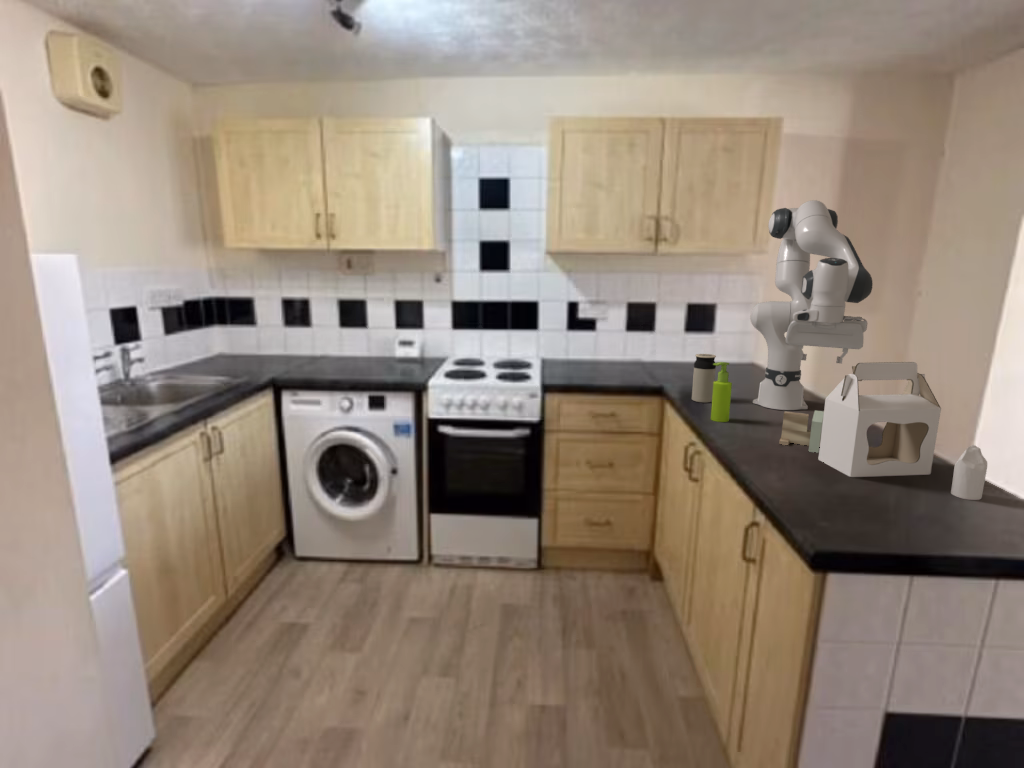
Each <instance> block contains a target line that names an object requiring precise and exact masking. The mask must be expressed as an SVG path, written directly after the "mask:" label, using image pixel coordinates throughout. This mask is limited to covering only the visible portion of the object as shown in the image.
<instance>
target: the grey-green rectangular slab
mask: <svg viewBox="0 0 1024 768" xmlns="http://www.w3.org/2000/svg"><path fill="white" fill-rule="evenodd" d="M823 416H824V410H814V412H813V416H812V419H811V425H810V426H811V427H810V430H811V434H810V442H809V446H808V451H809V452H810V453H814V452H816V453H815V454H819V449H820V448H819V446H820V437H821V432H822V424H823Z"/></svg>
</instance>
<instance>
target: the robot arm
mask: <svg viewBox="0 0 1024 768" xmlns="http://www.w3.org/2000/svg"><path fill="white" fill-rule="evenodd" d="M838 224H839V219H838V214H837V212H836V211H835V210H833V209H829V208H828V207H827V206H826V204H824V202H822V201H820V200H817V199H816V200H814V199H813V200H808V201H806V202H804V203H802V204H800V206H799V207H792V208H790V207H789V208H786V207H783V208H778V209H776V210H774V211H773V212H772V214H771V216H770V218H769V220H768V226H767V227H768V232H769V235H770V236H771V237H772V238H775V239H777V240H778V239H780V240H781V239H782V240H781V242H780V245H779V247H778V248H779V249H778V253H777V258H776V264H775V265H776V266H775V277H774V284H775V287H776V288H777V289H778V291H781V292H782V293H785V294H787V295H789V297H790V298H791V299H792V300H791V301H783V300H782V301H779V300H778V301H776V300H772V301H771V300H770V301H762V302H758V303H756V304H755V305H754V306H753V308H751V311H750V316H749V317H750V318H749V319H750V323H751V324H752V326H753V327H754V329H756V330H757V331H758V332H759V333H760V334H761V335H762V336H763V338H764V340H765V342H766V344H767V345H766V346H767V366H766V368H765V371H764V377H765V378H764V379H763V380H761V382H760V383H759V388H758V394H757V395H758V397H757V398H755V399H752V403H753V404H755V405H759V406H761V407H764V408H768V409H772V410H781V411H798V410H808V408H809V407H808V405H807V403H806V402H805V400H804V398H805V395H804V389H805V388H804V386H803V384H802V383H801V381H800V380H801V376H802V370H801V365H802V364H801V363H802V361H807V355H808V354H807V353H804V351H803V349H804V347H805V346H807V347H819V348H820V347H822V348H833V349H836V348H837V349H841V350H842V351H841V352H842V354H841V355H840V356H836V364H843V359H844V357H845V356H846V355H847V354H848V353H849V350H861V349H862V348H863V347H864V340H865V339H864V333H865V332H866V331H867V329H868V321H867V319H865V318H863V317H862V316H851V315H848V316H847V315H845V311H846V303H853V304H858V303H860V302H862V301H864V300H866V298H868V297H869V296H870V295H871V293H872V291H873V290H872V289H873V285H874V284H873V283H874V282H873V278H872V275H871V274H870V272H869V271H868V270H867V269H866V268H865V266H864V264H863V263H862V260H861V258H860V256H859V254H858V252H857V250H856V248H855V246H854V244H853V243H852V241H851V239H850V238H849V237H848V236H847V235H845V234H844V233H842V232H840V231H839V230H838ZM811 255H816V256H821V257H822V256H823V257H825V258H821V259H820V260H818V261H817V264H816V268H815V269H814V268H813V269H810V266H811ZM785 333H786V335H785Z"/></svg>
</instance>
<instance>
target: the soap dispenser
mask: <svg viewBox="0 0 1024 768" xmlns="http://www.w3.org/2000/svg"><path fill="white" fill-rule="evenodd" d="M713 365H715V366H716V367H719V366H721V367H720V371H718V372H717V380H715V381H714V382H713V395H712V402H711V411H710V420H711V421H712V422H716V423H717V422H718V423H727V422H730V421H729V420H730V411H731V399H732V398H731V397H732V387H733V383H732V382H730V381H729V375H730V373H729V372H728V371H727V369H728V368H727V367H728V366H730V362H724V361H717V362H715V363H714V364H713Z"/></svg>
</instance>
